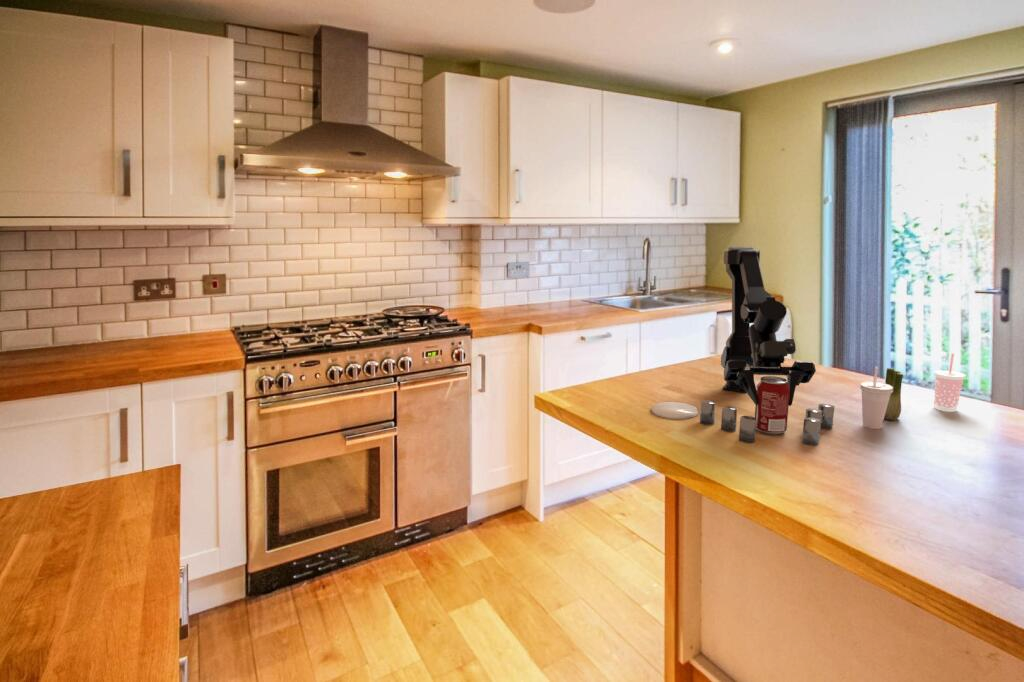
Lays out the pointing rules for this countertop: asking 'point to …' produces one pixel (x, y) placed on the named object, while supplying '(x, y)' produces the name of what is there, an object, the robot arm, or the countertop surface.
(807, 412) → the spacer field
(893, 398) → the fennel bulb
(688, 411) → the coaster
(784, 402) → the soda can
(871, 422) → the smoothie
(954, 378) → the beverage cup
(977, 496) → the countertop surface
